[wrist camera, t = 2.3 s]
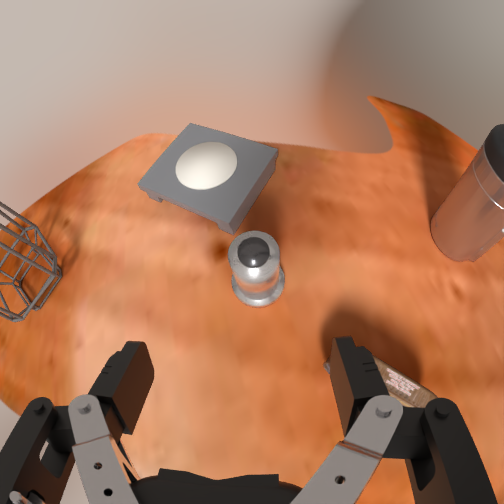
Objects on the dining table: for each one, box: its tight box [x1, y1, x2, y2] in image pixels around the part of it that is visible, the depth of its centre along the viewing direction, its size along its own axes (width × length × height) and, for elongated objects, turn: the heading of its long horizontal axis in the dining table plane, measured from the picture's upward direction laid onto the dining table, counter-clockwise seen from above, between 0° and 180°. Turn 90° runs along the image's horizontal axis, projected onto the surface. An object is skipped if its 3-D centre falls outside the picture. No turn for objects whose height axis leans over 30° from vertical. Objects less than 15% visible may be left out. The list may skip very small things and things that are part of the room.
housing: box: [228, 231, 285, 308], centre depth 34 cm, size 7×7×10 cm
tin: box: [323, 355, 438, 408], centre depth 28 cm, size 15×3×8 cm, turn 53°
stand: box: [138, 123, 278, 235], centre depth 44 cm, size 16×14×4 cm
